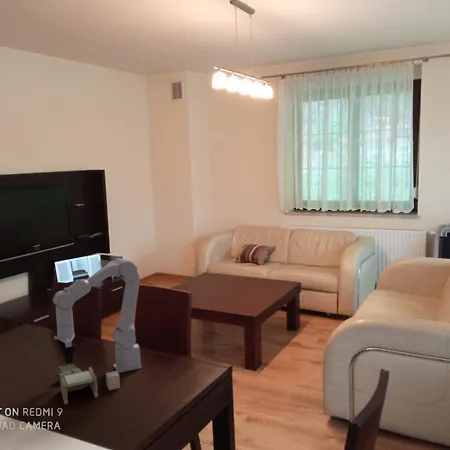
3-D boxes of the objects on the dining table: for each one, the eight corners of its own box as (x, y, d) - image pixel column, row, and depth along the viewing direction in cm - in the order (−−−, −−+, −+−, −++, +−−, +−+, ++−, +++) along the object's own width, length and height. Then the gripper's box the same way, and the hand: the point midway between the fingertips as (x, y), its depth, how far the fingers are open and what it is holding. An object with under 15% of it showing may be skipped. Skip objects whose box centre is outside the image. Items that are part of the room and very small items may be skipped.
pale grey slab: (88, 376, 171) (87, 367, 171) (93, 388, 162) (92, 378, 162) (64, 381, 167) (63, 372, 167) (67, 393, 158) (67, 384, 158)
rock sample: (71, 378, 168) (65, 357, 173) (57, 390, 170) (51, 369, 174) (92, 380, 176) (85, 360, 181) (78, 391, 178) (72, 370, 183)
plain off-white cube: (117, 383, 172) (116, 370, 171) (119, 387, 169) (119, 375, 168) (106, 385, 170) (105, 373, 170) (108, 390, 167) (108, 377, 166)
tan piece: (92, 383, 172) (91, 367, 171) (98, 396, 162) (96, 379, 161) (60, 390, 167) (59, 373, 166) (64, 404, 157) (63, 386, 157)
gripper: (51, 319, 174) (54, 353, 176) (55, 331, 161) (58, 368, 163) (71, 316, 177) (73, 350, 179) (76, 328, 164) (79, 364, 166)
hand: (67, 358), depth 171 cm, fingers open, 7 cm apart
